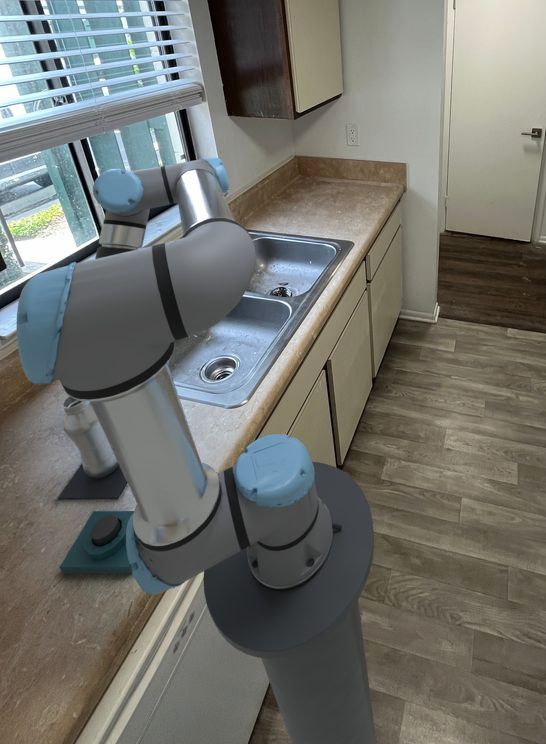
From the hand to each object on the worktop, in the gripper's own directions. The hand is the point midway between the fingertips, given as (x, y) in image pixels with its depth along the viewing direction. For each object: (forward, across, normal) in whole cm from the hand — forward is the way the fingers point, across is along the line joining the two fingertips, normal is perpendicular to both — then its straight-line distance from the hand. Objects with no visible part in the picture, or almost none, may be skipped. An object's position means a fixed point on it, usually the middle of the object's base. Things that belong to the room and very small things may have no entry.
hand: (96, 357), depth 84 cm
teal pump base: (+32, -9, -4) cm, 33 cm away
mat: (+24, +4, -12) cm, 28 cm away
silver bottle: (+24, +4, -12) cm, 27 cm away
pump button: (+29, -9, -2) cm, 30 cm away
